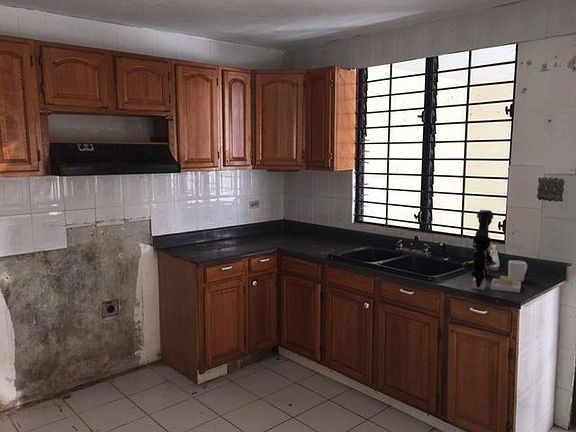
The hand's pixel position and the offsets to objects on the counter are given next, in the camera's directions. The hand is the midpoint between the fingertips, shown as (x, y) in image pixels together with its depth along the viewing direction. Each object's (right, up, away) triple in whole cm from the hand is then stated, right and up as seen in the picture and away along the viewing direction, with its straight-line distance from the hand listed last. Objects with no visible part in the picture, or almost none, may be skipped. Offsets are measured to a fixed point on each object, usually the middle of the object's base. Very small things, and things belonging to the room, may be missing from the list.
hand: (478, 285), depth 257 cm
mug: (+28, +1, +16) cm, 32 cm away
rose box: (0, -1, 0) cm, 1 cm away
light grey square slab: (+14, -1, -1) cm, 14 cm away
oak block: (+14, -1, -1) cm, 14 cm away
